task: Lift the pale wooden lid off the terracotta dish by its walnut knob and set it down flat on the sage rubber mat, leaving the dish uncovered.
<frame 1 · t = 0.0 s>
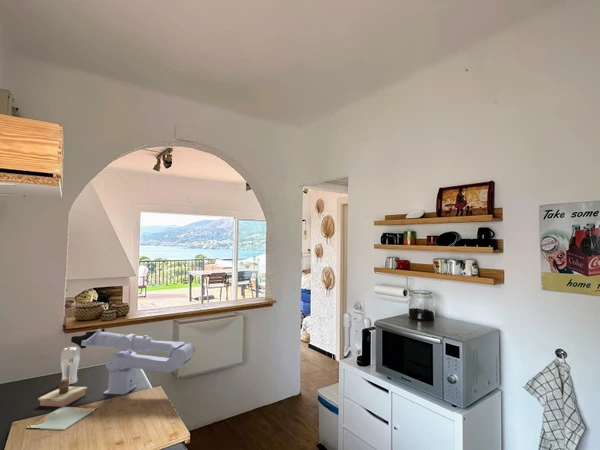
hand: (79, 336, 136), 22 cm above the kitchen counter, tool horizontal, fingers open, 7 cm apart
lid: (63, 394, 124), point 2 cm above the kitchen counter, touching dish
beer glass: (69, 383, 141), on the kitchen counter
mat: (63, 418, 110), on the kitchen counter
dish: (63, 400, 124), on the kitchen counter
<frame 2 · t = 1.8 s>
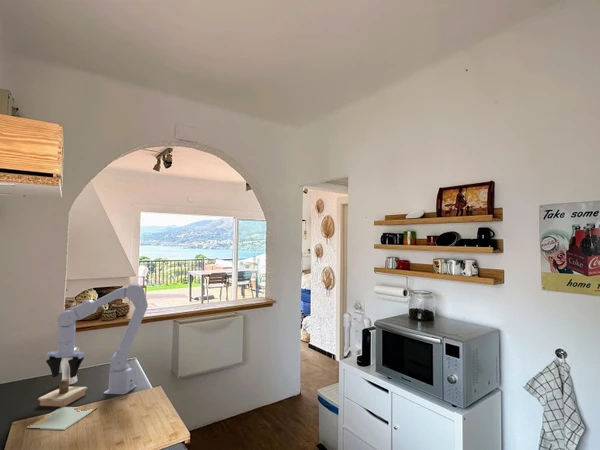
hand: (64, 376, 125), 9 cm above the kitchen counter, tool pointing down, fingers open, 7 cm apart
nothing on the kitchen counter moved.
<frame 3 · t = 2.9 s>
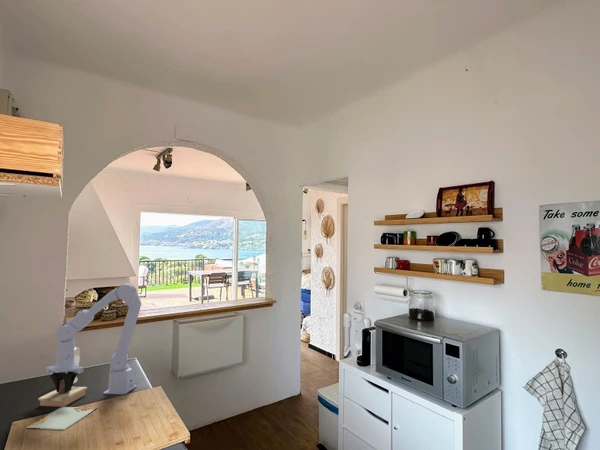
hand: (63, 391, 124), 3 cm above the kitchen counter, tool pointing down, fingers closed on lid, 3 cm apart
lid: (63, 394, 124), point 2 cm above the kitchen counter, touching dish, gripper
everything else where it was.
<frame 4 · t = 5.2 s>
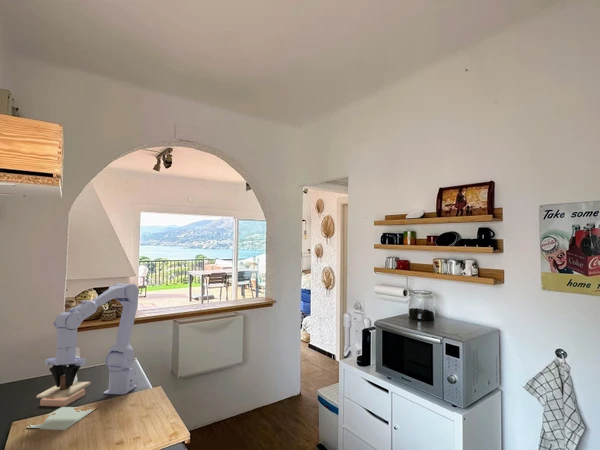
hand: (64, 386, 112), 10 cm above the kitchen counter, tool pointing down, fingers closed on lid, 3 cm apart
lid: (64, 390, 112), point 9 cm above the kitchen counter, touching gripper
everything else where it was.
when the fingers open (4 cm above the kitchen counter, at t = 7.3 s): lid drops 2 cm, resting on mat.
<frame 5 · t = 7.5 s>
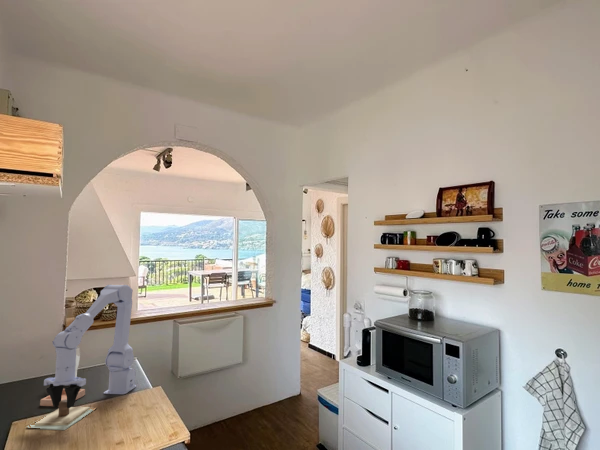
hand: (63, 406, 110), 4 cm above the kitchen counter, tool pointing down, fingers open, 5 cm apart
lid: (63, 416, 110), resting on mat
everything else where it was.
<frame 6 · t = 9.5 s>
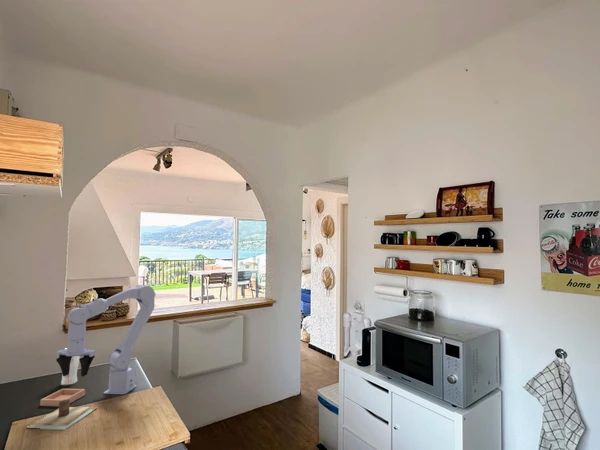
hand: (75, 375, 122), 10 cm above the kitchen counter, tool pointing down, fingers open, 7 cm apart
nothing on the kitchen counter moved.
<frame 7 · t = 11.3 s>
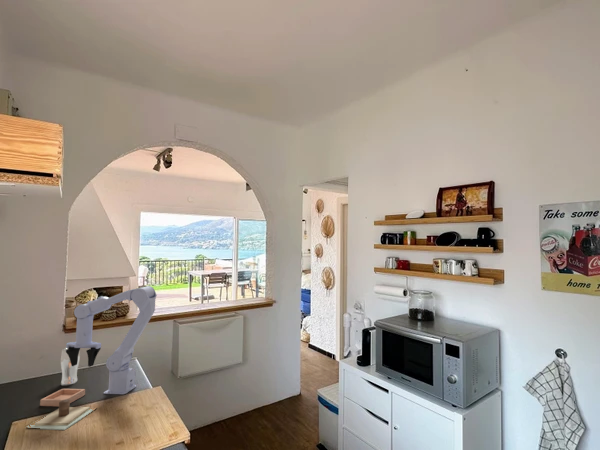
hand: (82, 365, 133), 10 cm above the kitchen counter, tool pointing down, fingers open, 7 cm apart
nothing on the kitchen counter moved.
at the end: lid inside the target area on the mat (0.2 cm from its centre), point 0.4 cm above the mat's base; lid tilted 0°; the gripper is holding nothing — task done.
